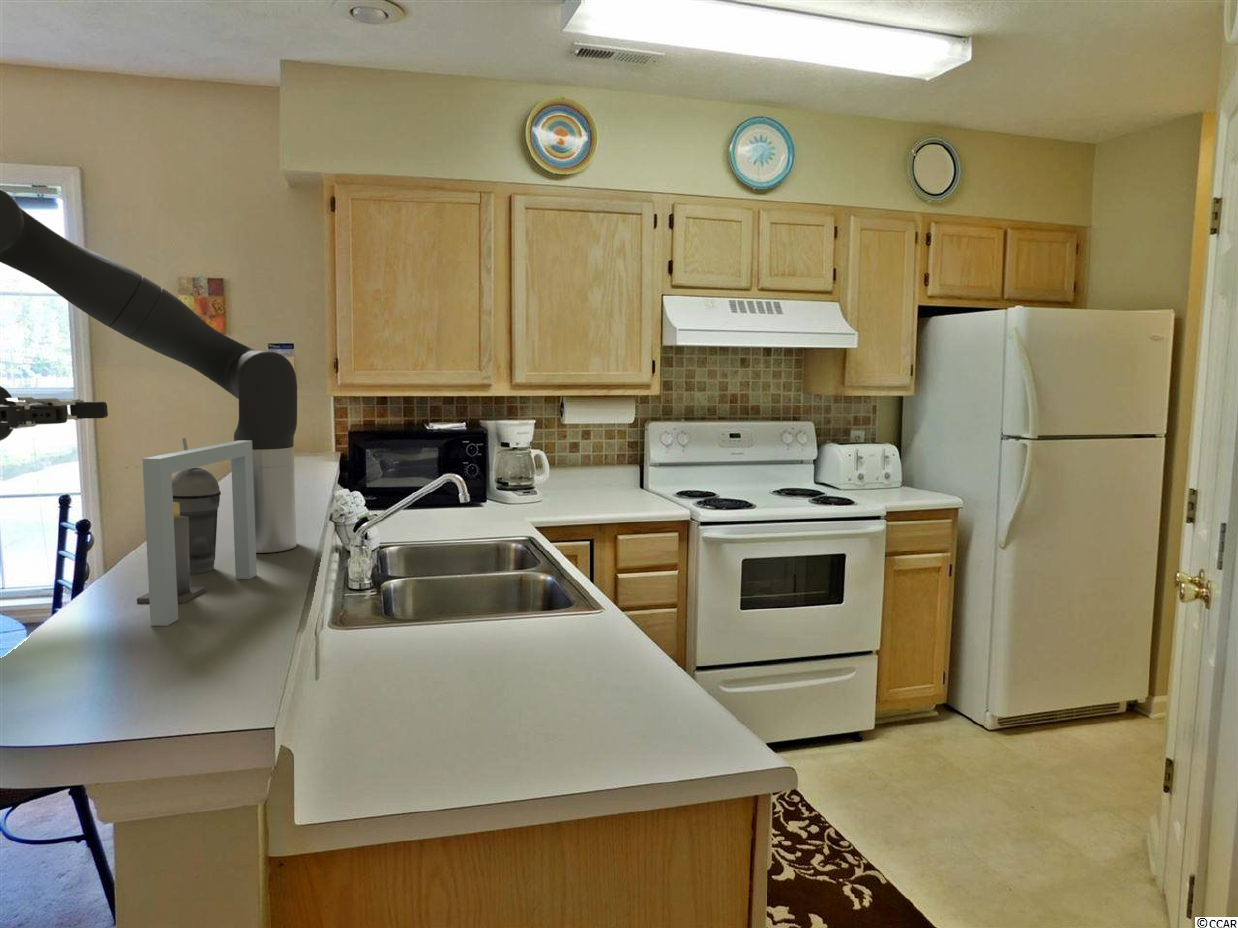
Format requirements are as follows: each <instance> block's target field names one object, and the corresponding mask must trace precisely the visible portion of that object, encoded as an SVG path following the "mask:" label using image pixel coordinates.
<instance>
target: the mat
mask: <svg viewBox="0 0 1238 928" xmlns="http://www.w3.org/2000/svg"><path fill="white" fill-rule="evenodd" d="M203 593H206V586H190V592H189V593H187V594H184V595H179V596H177V601H178V604H185V603H187V602H189V601H190V600H192V599H194V598H196V597H198V596H200V595H201V594H203ZM137 603H138V604H150V601H149V592H147V593H144V594H142V595H140V596H139V597H137V598H136V604H137Z"/></svg>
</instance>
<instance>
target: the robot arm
mask: <svg viewBox="0 0 1238 928" xmlns="http://www.w3.org/2000/svg"><path fill="white" fill-rule="evenodd" d="M0 263H1V264H4V265H6V266H8V267H10V268H12V269H14V270H16V271H18V272H21V273H22V274H25V275H26V276H29V277H31V278H33V279H34V280H36V281H38V282H39V283H42V284H43V285H45V286H46V287H48V288H49V289H51V290H52V291H53V292H55V294H58V295H59V296H61V298H63V299H65V301H68V302H69V303H70V304H72V306H75V307H76V308H78V309H79V310H81V311H82V312H84V313H85V314H86V315H88V316H90V317H92V319H94V320H96V321H98V322H100V323H101V324H102V325H105V326H107V327H108V328H110V329H112V330H113V331H115V332H117V333H119V334H121V335H123V336H124V337H126V338H127V339H130V340H132V341H134V342H135V343H138V344H140V345H142V346H143V347H146V348H148V349H150V350H152V351H154V352H156V353H159V354H161V355H163V356H165V357H168V358H170V359H172V360H175V361H177V362H179V363H182V364H183V365H186V366H188V367H190V368H191V369H193V370H195V371H196V372H198V373H199V374H202V375H203V376H204V377H206V378H208V379H209V380H211V382H214V384H216V385H218V386H219V387H221V388H222V389H223V390H224V391H226V392H228V393H229V394H230V395H232V396H233V397H235V399H238V421H237V427H235V430H234V433H233V441H238V440H247V441H252V453H253V482H254V510H255V539H256V554H263V553H264V554H265V553H276V552H283V551H288V550H291V549H295V548H296V547H297V517H296V516H297V513H296V511H297V510H296V480H295V479H296V478H295V476H296V475H295V471H296V470H295V449H294V446H295V445H294V444H295V443H294V442H295V441H294V439H295V434H296V431H297V426H298V381H297V374H296V372H295V369H294V366H293V364H292V363H291V361H290V360H289V359H288V358H286V357H285V356H284V355H282V354H281V353H279V352H276V351H272V350H257V349H254V348H252V347H249V346H247V345H245V344H243V343H241V342H238V341H237V340H235V339H232V338H231V337H229V336H227V335H225V334H223V333H222V332H220V331H218V330H216V329H215V328H214V327H212V326H211V325H210V324H208V323H207V322H206V321H205V320H203V319H202V318H201V316H199V315H198V314H197V313H196V312H195V311H194V310H192V309H191V308H190V307H189V306H188V305H187V304H185V303H184V302H183V301H182V300H180V299H179V298H178V297H177V296H175V295H174V294H172V293H171V292H169V291H168V290H167V289H166V288H163V287H162V286H161V285H158V284H157V283H155V281H152V280H150V279H148V278H147V277H145V276H143V275H142V274H140V273H139V272H136V271H135V270H133V269H131V268H129V267H127V266H125V265H123V264H121V263H119V262H117V261H115V260H112V259H111V258H109V257H106V256H104V255H103V254H99V253H97V252H95V251H93V250H90V249H88V248H86V247H83V246H81V245H78V243H77V244H76V243H75V242H73V241H70V240H69V239H67V238H65V237H64V236H62V235H60V234H59V233H57V232H55V231H54V230H52V229H51V228H49V227H48V226H46V225H45V224H43V223H42V222H41V221H39V220H37V218H35V217H34V216H32V215H30V214H29V213H28V212H26V211H25V210H24V209H22V208H21V207H20V206H19V204H18V203H17V201H16V199H14V198H13V197H12V195H10V194H9V193H8V192H7V191H5V190H4V189H2V188H0ZM68 406H69V410H70V411H68ZM69 412H70V413H69ZM108 415H109V413H108V404H107V402H105V401H84V399H83V400H82V399H80V398H79V399H72V400H65V399H63V400H60V399H58V398H57V397H47V398H46V397H45V398H43V397H42V398H41V397H40V398H34V397H32V396H18V397H12V395H11V393H10V392H8V390H7V389H6V388H4V387H3V386H2V385H0V442H1V441H3V440H5V439H7V438H8V437H9V436H10V435H11V434H12V432H13V430H14V429H17V430H18V429H23V428H24V429H25V428H33V427H36V426H39V425H55V424H59V425H60V424H65V423H67V422H68V420H74V421H79V420H83V419H105V418H107V417H109V416H108Z"/></svg>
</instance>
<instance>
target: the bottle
mask: <svg viewBox="0 0 1238 928" xmlns="http://www.w3.org/2000/svg"><path fill="white" fill-rule="evenodd" d="M173 514H174V536H175V557H176V579H177V596H179V595H184V594H187V593H189V592H190V587H191V583H190V582H191V580H190V578H191V577H190V576H191V574H190V565H189V517H186V516H180V504H179V503H178V502H173Z"/></svg>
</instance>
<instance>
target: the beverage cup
mask: <svg viewBox="0 0 1238 928" xmlns="http://www.w3.org/2000/svg"><path fill="white" fill-rule="evenodd" d="M181 441H182V446H183V451H185V450H189V449H188V442H187V437H184V438H182V440H181ZM172 492H173V502H178V503H179V504H180V516H186V517H189V565H190V575H192V574H193V575H194V574H195V575H197V574H204V573H208V572H212V571H214V570H215V560H216V551H217V550H216V549H217V548H216V547H217V532H218V531H217V528H218V511H219V509H218V508H219V507H220V500H221V495H222V493H221V491H220V485H219V482H218V480H217V478H216V477H215V476H214V474H212V473H211V472H210V471H208V470H206V469H204V468H202V467H196V468H192V469H187V470H183V471H179V472H176V474H175V475H174V476H173V477H172Z"/></svg>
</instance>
